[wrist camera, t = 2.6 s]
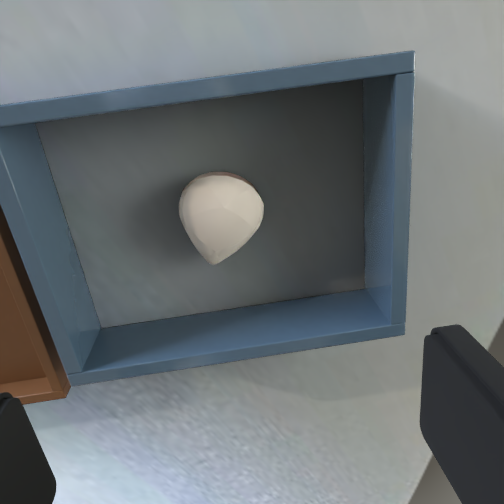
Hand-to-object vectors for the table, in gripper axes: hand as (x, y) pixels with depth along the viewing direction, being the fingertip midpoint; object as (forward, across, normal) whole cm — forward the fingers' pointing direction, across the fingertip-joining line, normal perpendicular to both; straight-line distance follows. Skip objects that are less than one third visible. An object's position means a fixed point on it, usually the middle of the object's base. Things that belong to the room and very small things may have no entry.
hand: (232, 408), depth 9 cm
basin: (+14, 0, 0) cm, 14 cm away
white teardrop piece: (+14, 0, 0) cm, 14 cm away
